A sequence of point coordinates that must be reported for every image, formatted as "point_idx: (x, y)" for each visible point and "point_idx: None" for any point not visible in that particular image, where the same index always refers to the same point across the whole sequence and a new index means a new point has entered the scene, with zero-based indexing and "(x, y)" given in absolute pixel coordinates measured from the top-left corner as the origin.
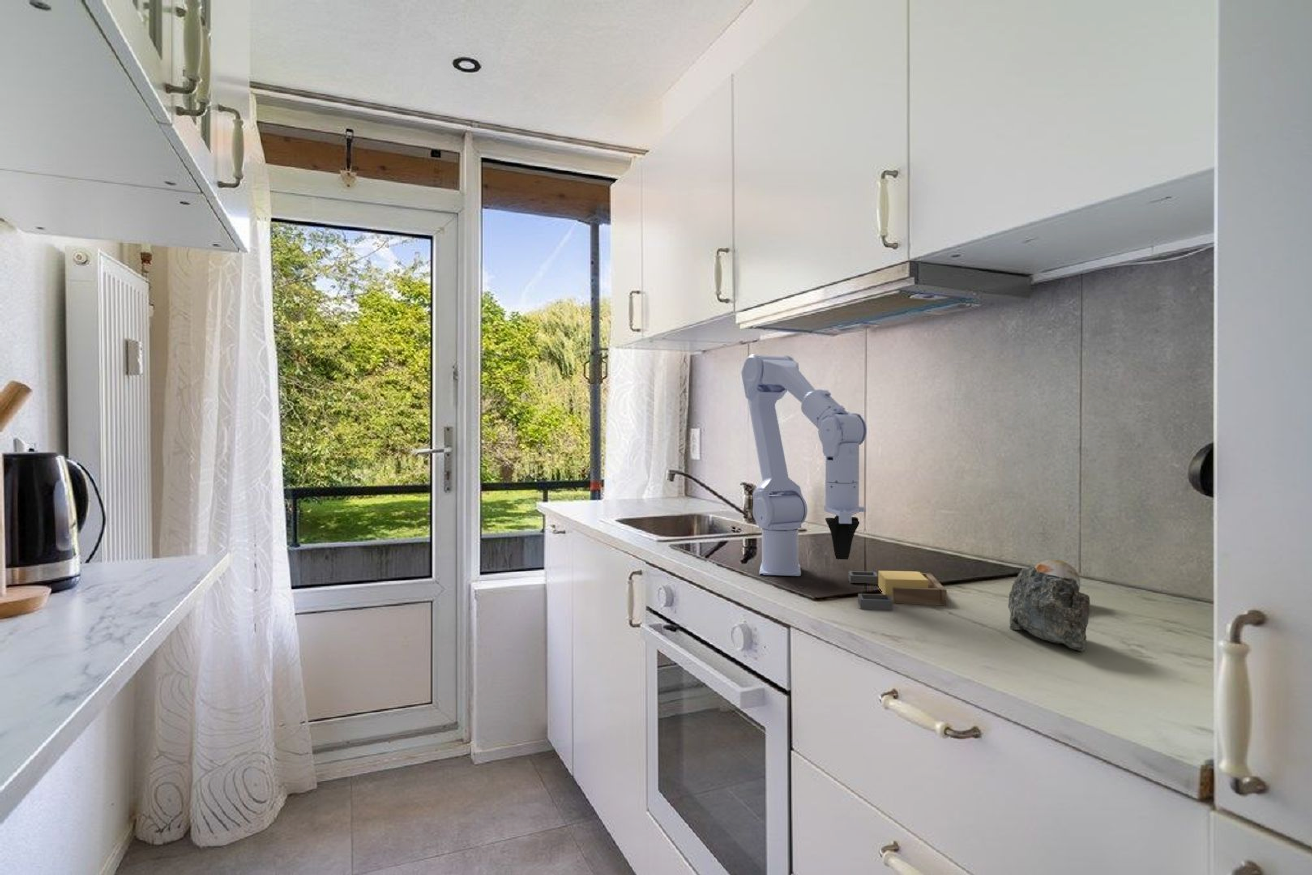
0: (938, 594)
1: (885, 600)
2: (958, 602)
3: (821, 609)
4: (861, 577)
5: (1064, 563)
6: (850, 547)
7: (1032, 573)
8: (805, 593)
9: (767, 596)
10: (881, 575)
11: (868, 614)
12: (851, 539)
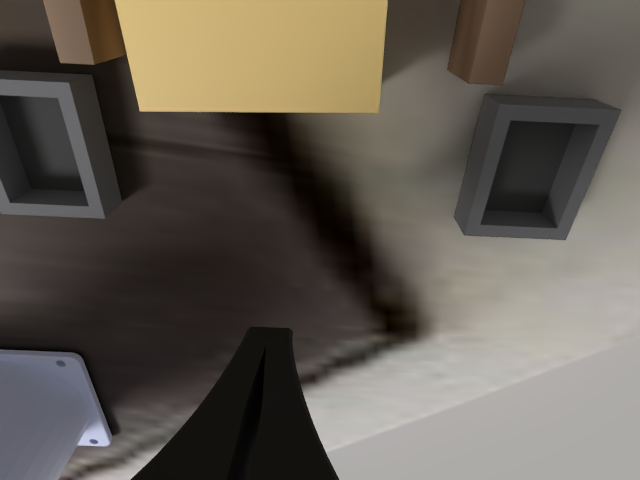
0: None
1: (604, 143)
2: None
3: (530, 328)
4: (96, 167)
5: None
6: (297, 377)
7: None
8: (325, 351)
9: (371, 428)
10: (248, 110)
11: (628, 205)
12: (314, 428)
